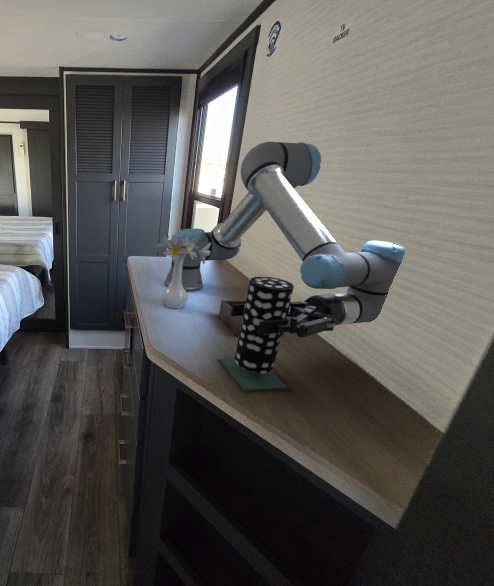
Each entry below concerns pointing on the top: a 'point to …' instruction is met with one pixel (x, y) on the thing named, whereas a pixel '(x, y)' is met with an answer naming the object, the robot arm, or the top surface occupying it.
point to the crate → (229, 320)
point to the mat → (252, 377)
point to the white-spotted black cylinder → (262, 307)
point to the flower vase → (179, 267)
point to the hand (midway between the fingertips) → (245, 318)
